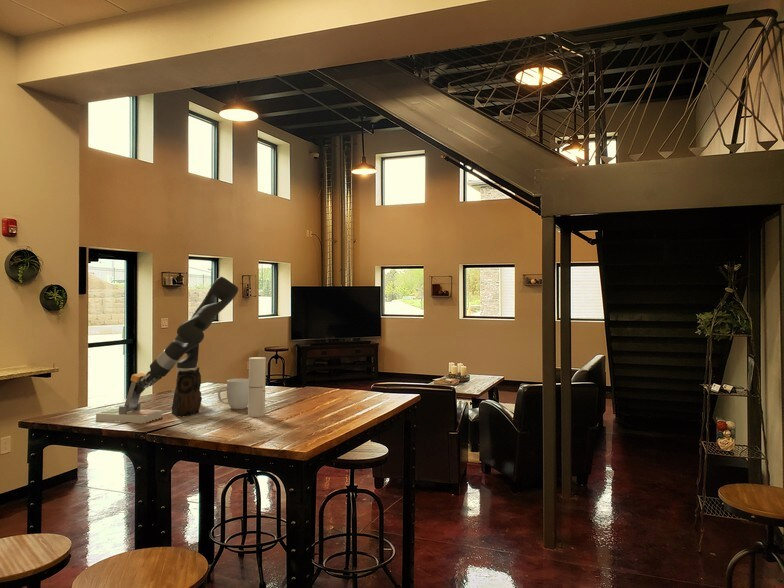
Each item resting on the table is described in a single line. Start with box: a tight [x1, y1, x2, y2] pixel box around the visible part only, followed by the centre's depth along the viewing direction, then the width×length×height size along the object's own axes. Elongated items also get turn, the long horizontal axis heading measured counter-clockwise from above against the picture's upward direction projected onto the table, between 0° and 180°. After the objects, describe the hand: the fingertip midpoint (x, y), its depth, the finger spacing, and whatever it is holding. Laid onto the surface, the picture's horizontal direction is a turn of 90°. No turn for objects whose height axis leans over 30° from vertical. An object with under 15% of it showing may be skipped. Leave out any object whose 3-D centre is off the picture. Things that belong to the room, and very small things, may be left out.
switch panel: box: [95, 402, 163, 424], centre depth 227 cm, size 22×12×6 cm, turn 80°
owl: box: [171, 366, 203, 418], centre depth 240 cm, size 13×13×20 cm
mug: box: [217, 378, 249, 410], centre depth 255 cm, size 15×11×13 cm
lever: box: [124, 372, 147, 412], centre depth 227 cm, size 3×6×16 cm, turn 169°
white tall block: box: [247, 356, 267, 418], centre depth 239 cm, size 7×7×25 cm
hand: (137, 392), depth 225 cm, fingers closed
